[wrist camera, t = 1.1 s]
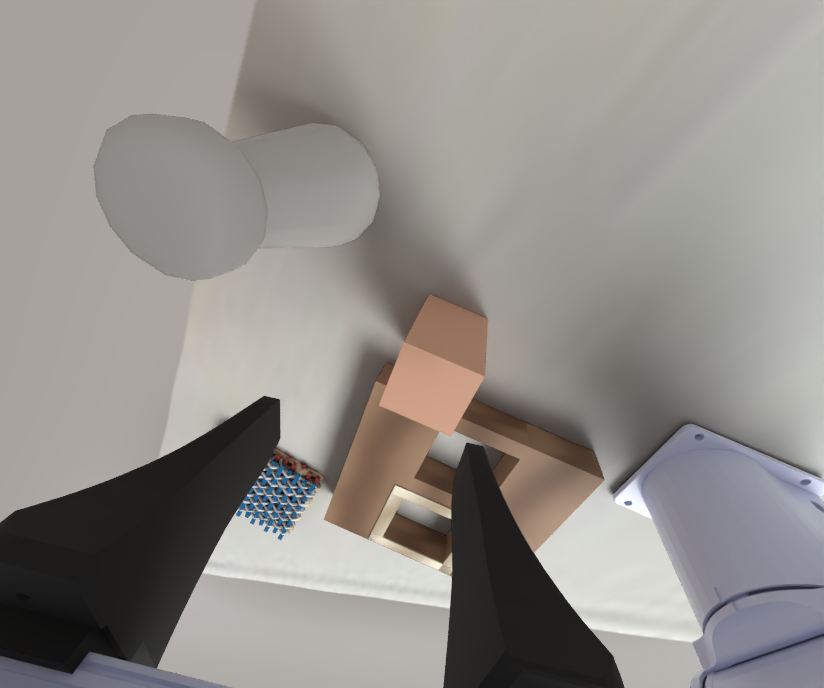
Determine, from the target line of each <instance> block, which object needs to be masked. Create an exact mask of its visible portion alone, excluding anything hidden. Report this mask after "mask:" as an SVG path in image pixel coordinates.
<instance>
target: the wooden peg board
mask: <svg viewBox="0 0 824 688" xmlns="http://www.w3.org/2000/svg"><path fill="white" fill-rule="evenodd" d="M393 368H394V366H393V365H391V364H389V363H386V364H385V366H384V367H383V369H382V371H381V373H380V374H379V376H378V378H377V380H376V382H375V384H374V387H373V390H372V392H371V395H370V398H369V400H368V403H367V406H366V408H365V411H364V414H363V416H362V419H361V422H360V424H359V427H358V430H357V432H356V435H355V438H354V441H353V443H352V446H351V449H350V451H349V454H348V457H347V459H346V462H345V465H344V467H343V470H342V473H341V475H340V478H339V481H338V483H337V486H336V489H335V491H334V494H333V497H332V499H331V502H330V505H329V507H328V510H327V513H326V515H325V518H324V520H326V521H328V522H330V523H332V524H335V525H337V526H339V527H341V528H344V529H346V530H348V531H350V532H353V533H355V534H357V535H359V536H362V537H364V538H366V539H368V540H371V541H373V542H375V543H378V544H380V545H382V546H384V547H387V548H389V549H391V550H393V551H396V552H398V553H400V554H402V555H405V556H407V557H409V558H411V559H414V560H416V561H418V562H420V563H423V564H425V565H427V566H429V567H432V568H434V569H436V570H438V571H441V572H443V573H445V574H447V575H450V576H452V534H451V531H450V532H449V533H448V535H447V536H445V535H443V534H440V533H438V532H436V531H434V530H431V529H429V528H427V527H425V526H422V525H420V524H418V523H416V522H413V521H411V520H409V519H406V518H404V517H402V516H400V515H397V514H395V513H396V511H397V509H398V507H399V505H400V504H401V502H402V500H403V498H404V499H406V500H408V501H410V502H413V503H415V504H417V505H419V506H422V507H424V508H426V509H429V510H431V511H433V512H435V513H438V514H440V515H442V516H444V517H447V518H449V519H451V501H452V489H453V479H454V476H455V473H456V471H457V470H456V469H453V468H451V467H449V466H447V465H444V464H442V463H440V462H437V461H435V460H433V459H431V458H428V457H426V455H427V453H428V451H429V449H430V448H431V446H432V444H433V442H434V440H435V438H436V436H437V435H438V433H439V431H437V430H434V429H432V428H430V427H428V426H425V425H423V424H421V423H418V422H416V421H414V420H411V419H409V418H407V417H404V416H402V415H400V414H398V413H395V412H393V411H391V410H388V409H386V408H384V407H381V406H379V403H380V401H381V398H382V396H383V393H384V391H385V388H386V386H387V383H388V381H389V378H390V376H391V373H392V371H393ZM454 431H456V432H458V433H460V434H463V435H465V436H467V437H470V438H472V439H474V440H477V441H479V442H481V443H484V444H486V445H488V446H490V447H493V448H495V449H497V450H500V451H502V452H504V453H505V454H504V455H503V457H502V458H501V460H500V461H499V462H498V464H497V465H496V467H495V468H494V469H493V473H494V476H495V478H496V481H497V483H498V485H499V488H500V490H501V492H502V494H503V496H504V499H505V501H506V503H507V505H508V507H509V509H510V511H511V513H512V515H513V517H514V519H515V521H516V523H517V525H518V527H519V528H520V530H521V532H522V534H523V536H524V537H525V539H526V541H527V543H528V544H529V546H530V548H531V549H532V551H533V552H535V551H536V550H537V549H538V548H539V547H540V546H541V545H542V544H543V543H544V542H545V541H546V540H547V539H548V538H549V537H550V536H551V535H552V534H553V533H554V531H555V530H556V529H557V528H558V527H559V526H560V525H561V524H562V523H563V522H564V521H565V520H566V519H567V518H568V517H569V516H570V515H571V514H572V513H573V512H574V511H575V510H576V509H577V508H578V507H579V506H580V505H581V504H582V503H583V502H584V501H585V500H586V498H587V497H588V496H589V495H590V494H591V493H592V492H593V491H594V490H595V489H596V488H597V487H598V486H599V485H600V484H601V483H602V482H603V481H604V477H603V474H602V471H601V468H600V465H599V462H598V460H597V457H596V454H595V452H593V451H591V450H589V449H586V448H584V447H582V446H579V445H577V444H575V443H572V442H570V441H568V440H565V439H563V438H561V437H558V436H556V435H554V434H551V433H549V432H547V431H544V430H542V429H540V428H537V427H535V426H533V425H531V424H528V423H526V422H524V421H521V420H519V419H517V418H514V417H512V416H510V415H507V414H505V413H503V412H500V411H498V410H496V409H493V408H491V407H489V406H486V405H484V404H482V403H479V402H477V401H475V400H471V402H470V404H469V405H468V407H467V409H466V411H465V412H464V414H463V416H462V418H461V419H460V421H459V423H458V425H457V426H456V428H455V430H454Z"/></svg>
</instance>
